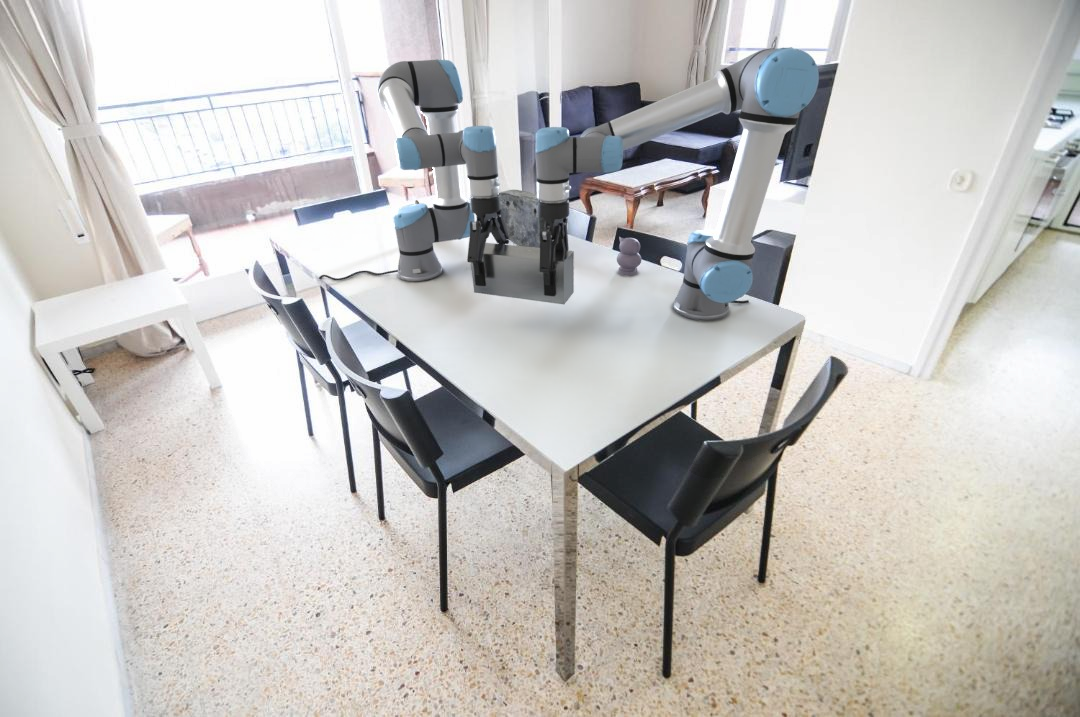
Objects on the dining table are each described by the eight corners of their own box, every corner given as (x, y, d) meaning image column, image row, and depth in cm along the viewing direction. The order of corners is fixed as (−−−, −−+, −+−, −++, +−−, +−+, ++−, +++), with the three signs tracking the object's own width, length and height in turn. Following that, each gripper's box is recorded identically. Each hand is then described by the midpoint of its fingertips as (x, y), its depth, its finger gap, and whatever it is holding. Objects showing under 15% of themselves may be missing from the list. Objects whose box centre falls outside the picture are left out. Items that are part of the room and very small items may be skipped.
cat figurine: (645, 271, 170) (647, 237, 164) (632, 278, 165) (634, 243, 159) (624, 266, 175) (626, 232, 169) (611, 272, 170) (612, 238, 164)
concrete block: (558, 253, 189) (557, 199, 178) (539, 258, 184) (537, 204, 174) (519, 237, 207) (516, 187, 197) (501, 241, 203) (497, 191, 193)
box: (474, 292, 134) (469, 252, 128) (486, 281, 140) (483, 242, 134) (564, 304, 126) (563, 261, 120) (573, 292, 132) (573, 251, 126)
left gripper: (475, 209, 112) (483, 295, 123) (518, 184, 131) (522, 261, 143) (446, 207, 114) (457, 292, 126) (492, 183, 134) (498, 259, 145)
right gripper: (553, 212, 108) (555, 307, 120) (581, 190, 124) (580, 275, 136) (521, 210, 110) (526, 303, 122) (553, 188, 127) (555, 272, 138)
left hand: (491, 276), depth 134 cm, fingers open, 13 cm apart
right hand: (555, 288), depth 129 cm, fingers closed on box, 8 cm apart
